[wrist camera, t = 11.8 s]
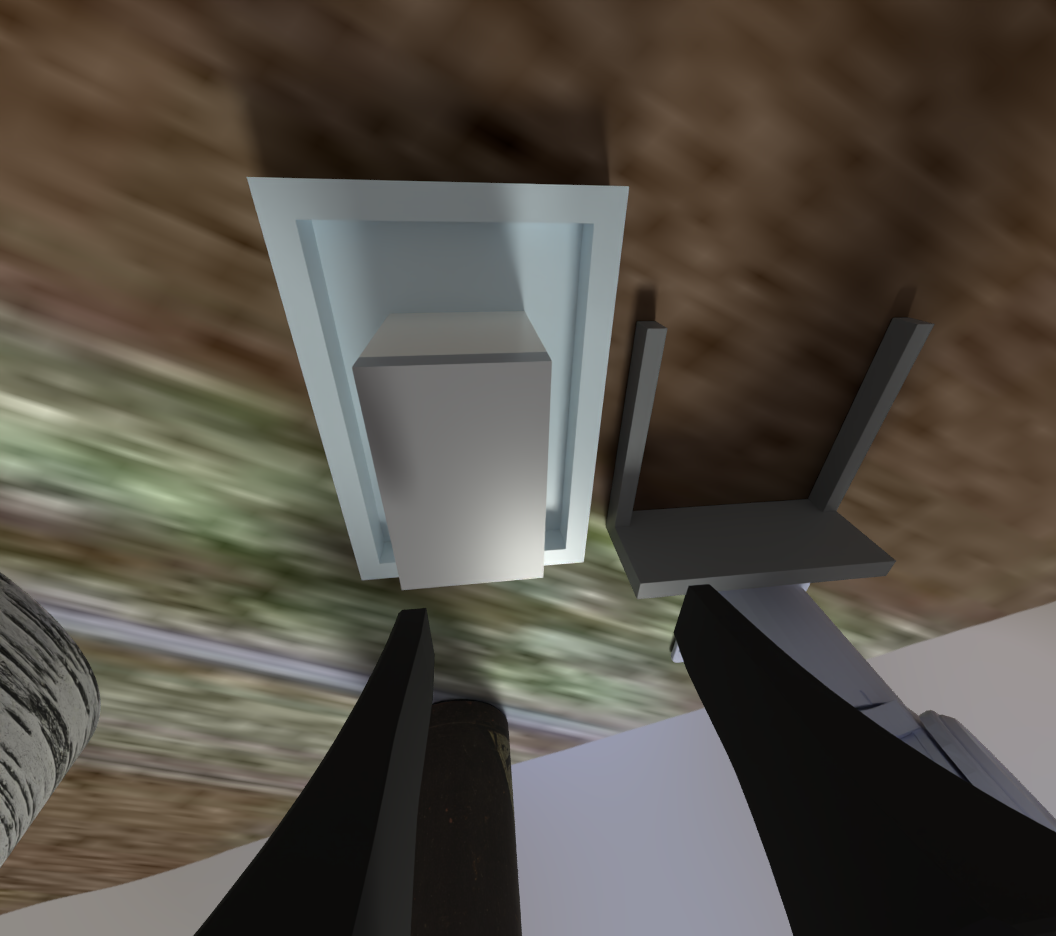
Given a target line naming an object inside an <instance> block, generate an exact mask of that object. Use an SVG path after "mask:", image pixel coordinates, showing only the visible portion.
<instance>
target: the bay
mask: <svg viewBox="0 0 1056 936" xmlns="http://www.w3.org/2000/svg"><path fill="white" fill-rule="evenodd" d="M933 326H934V324H932V323H928V322H924V321H921V320H917V319H913V318H893V319H892V321H891V323H890V325H889V327H888V329H887V331H886V334H885V336H884V338H883V340H882V342H881V344H880V346H879V349H878V351H877V353H876V355H875V357H874V359H873V361H872V363H871V366H870V368H869V370H868V372H867V374H866V376H865V378H864V380H863V383H862V385H861V387H860V389H859V391H858V393H857V395H856V397H855V400H854V402H853V404H852V406H851V408H850V410H849V412H848V415H847V417H846V419H845V421H844V423H843V425H842V427H841V429H840V432H839V434H838V436H837V438H836V440H835V442H834V444H833V446H832V449H831V451H830V453H829V455H828V457H827V459H826V461H825V464H824V466H823V468H822V470H821V472H820V474H819V476H818V478H817V481H816V483H815V485H814V487H813V489H812V491H811V493H810V495H809V498H808V499H801V500H787V501H772V502H758V503H743V504H728V505H714V506H699V507H684V508H670V509H655V510H641V511H633V506H634V500H635V495H636V490H637V485H638V479H639V474H640V469H641V464H642V459H643V453H644V448H645V443H646V438H647V432H648V427H649V422H650V417H651V412H652V406H653V401H654V396H655V391H656V385H657V380H658V375H659V370H660V364H661V359H662V354H663V349H664V344H665V338H666V333H667V328H666V327H664V326H663V325H661V324H659V323H658V322H656V321H637V324H636V331H635V338H634V344H633V351H632V357H631V364H630V371H629V377H628V384H627V390H626V397H625V404H624V410H623V417H622V423H621V430H620V437H619V443H618V450H617V456H616V463H615V470H614V476H613V483H612V489H611V496H610V503H609V509H608V516H607V522H606V529H607V531H608V533H609V535H610V538H611V540H612V542H613V545H614V547H615V549H616V552H617V554H618V556H619V559H620V561H621V563H622V565H623V568H624V570H625V572H626V575H627V577H628V579H629V582H630V584H631V586H632V589H633V591H634V593H635V596H636V598H637V599H643V598H654V597H665V596H675V595H686V592H687V589H688V586H691V585H703V584H710V585H711V586H712V587H713V588H714V589H715V590H717V591H729V590H739V589H750V588H761V587H771V586H782V585H793V584H803V583H814V582H825V581H835V580H846V579H857V578H867V577H878V576H886V575H887V573H888V572H889V571H890V569H891V568H892V566H893V565H894V563H895V562H896V560H894V559H893V558H892V557H891V556H890V555H888V554H887V553H886V552H885V551H884V550H882V549H881V548H880V547H879V546H878V545H876V544H875V543H874V542H873V541H871V540H870V539H869V538H868V537H867V536H865V535H864V534H863V533H862V532H861V531H859V530H858V529H857V528H856V527H855V526H853V525H852V524H851V523H850V522H849V521H847V520H846V519H845V518H844V517H843V516H841V515H840V514H839V513H838V512H837V511H836V510H837V509H838V507H839V505H840V503H841V501H842V499H843V497H844V495H845V493H846V491H847V490H848V488H849V486H850V484H851V482H852V480H853V478H854V476H855V474H856V472H857V470H858V469H859V467H860V465H861V463H862V461H863V459H864V457H865V455H866V453H867V451H868V450H869V448H870V446H871V444H872V442H873V440H874V438H875V436H876V434H877V432H878V431H879V429H880V427H881V425H882V423H883V421H884V419H885V417H886V415H887V413H888V411H889V410H890V408H891V406H892V404H893V402H894V400H895V398H896V396H897V394H898V392H899V391H900V389H901V387H902V385H903V383H904V381H905V379H906V377H907V375H908V373H909V372H910V370H911V368H912V366H913V364H914V362H915V360H916V358H917V356H918V354H919V352H920V351H921V349H922V347H923V345H924V343H925V341H926V339H927V337H928V335H929V333H930V332H931V330H932V328H933Z"/></svg>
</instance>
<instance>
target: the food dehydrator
mask: <svg viewBox="0 0 1056 936" xmlns="http://www.w3.org/2000/svg"><path fill="white" fill-rule="evenodd" d="M100 709H101V702H100V693H99V688H98V684H97V681H96V678H95V676H94V673H93V671H92V669H91V667H90V665H89V663H88V661H87V659H86V658H85V656H84V655H83V653H82V651H81V650H80V649H79V647H78V646H77V644H76V643H75V642H74V640H73V639H72V638H71V637H70V635H69V634H68V633H67V632H66V631H65V630H64V628H63V627H62V626H61V625H60V624H59V623H58V622H57V621H56V620H55V619H54V618H53V617H52V616H51V615H50V614H49V613H48V612H47V611H46V610H45V609H44V608H43V607H42V606H41V605H40V604H39V603H38V602H36V601H35V600H34V599H33V598H32V597H31V596H30V595H28V594H27V593H26V592H25V591H23V590H22V589H21V588H20V587H19V586H17V585H16V584H15V583H14V582H12V581H11V580H10V579H8V578H7V577H6V576H4V575H3V574H2V573H0V867H1V866H2V864H3V863H4V862H5V860H6V859H7V857H8V856H9V855H10V853H11V852H12V850H13V849H14V847H15V846H16V845H17V843H18V842H19V840H20V839H21V837H22V836H23V835H24V833H25V832H26V830H27V829H28V827H29V826H30V825H31V823H32V822H33V820H34V819H35V817H36V816H37V815H38V813H39V812H40V810H41V809H42V807H43V806H44V805H45V803H46V802H47V800H48V799H49V797H50V796H51V795H52V793H53V792H54V790H55V789H56V787H57V786H58V785H59V783H60V782H61V780H62V779H63V777H64V776H65V775H66V773H67V772H68V770H69V769H70V768H71V766H72V765H73V763H74V762H75V760H76V759H77V758H78V756H79V755H80V753H81V752H82V750H83V749H84V747H85V746H86V745H87V743H88V742H89V740H90V739H91V737H92V735H93V734H94V732H95V730H96V727H97V724H98V721H99V717H100Z"/></svg>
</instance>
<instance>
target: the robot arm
mask: <svg viewBox="0 0 1056 936" xmlns="http://www.w3.org/2000/svg"><path fill="white" fill-rule="evenodd" d="M809 585H810V583H803V584H793V585H782V586H771V587H761V588H750V589H739V590H729V591H717V590H715V589H714V588H713V587H712V586H711V585H710V584H703V585H691V586H688V589H687V592H686V595H685V598H684V602H683V605H682V608H681V611H680V614H679V617H678V620H677V624H676V627H675V630H674V635H675V638H676V641H675V644H674V647H673V650H672V653H671V658H672V660H673V662H684V664H685V667H686V669H687V672H688V674H689V676H690V678H691V680H692V682H693V684H694V686H695V688H696V691H697V693H698V695H699V697H700V699H701V701H702V703H703V705H704V707H705V709H706V711H707V713H708V715H709V717H710V719H711V721H712V724H713V725H714V728H715V730H716V732H717V734H718V736H719V738H720V740H721V742H722V744H723V746H724V748H725V750H726V752H727V754H728V756H729V759H730V761H731V763H732V766H733V768H734V770H735V772H736V775H737V777H738V780H739V782H740V785H741V788H742V790H743V793H744V795H745V798H746V800H747V803H748V806H749V808H750V811H751V814H752V816H753V818H754V821H755V824H756V827H757V830H758V833H759V835H760V838H761V841H762V844H763V846H764V849H765V852H766V855H767V857H768V860H769V863H770V866H771V869H772V872H773V875H774V878H775V881H776V884H777V887H778V890H779V893H780V896H781V899H782V902H783V905H784V908H785V911H786V914H787V917H788V920H789V923H790V926H791V930H792V933H793V936H1056V819H1055V818H1054V817H1053V816H1052V815H1051V814H1050V813H1049V812H1048V811H1047V810H1046V808H1045V807H1043V806H1042V804H1041V803H1040V802H1039V801H1038V800H1037V799H1036V798H1035V797H1034V796H1033V795H1032V794H1031V793H1030V792H1029V791H1028V790H1027V789H1026V788H1025V787H1024V786H1023V785H1022V784H1021V783H1020V781H1018V780H1017V778H1016V777H1015V776H1014V775H1013V774H1012V773H1011V772H1010V771H1009V770H1008V769H1007V768H1006V767H1005V766H1004V765H1003V764H1002V763H1001V762H1000V761H999V760H998V759H997V758H996V757H995V756H994V755H993V754H992V753H991V752H990V751H989V750H988V749H987V748H986V747H985V746H984V745H983V744H982V743H981V742H980V741H979V740H978V739H977V738H976V737H975V736H974V735H973V734H972V733H971V732H970V731H969V730H968V729H966V728H965V727H964V726H963V725H962V724H961V723H960V722H959V721H957V720H956V719H954V718H951V717H948V716H945V715H939V714H937V713H936V712H934V711H932V710H930V711H926V712H924V713H922V714H921V715H919V716H918V715H917V714H916V713H914V712H913V711H912V710H910V709H909V708H907V707H906V706H905V704H903V702H902V701H901V700H900V699H899V698H898V696H897V695H896V694H895V693H894V692H893V691H892V690H891V688H890V687H889V686H888V685H887V684H886V683H885V682H884V680H883V679H882V678H881V677H880V676H879V675H878V674H877V672H876V671H875V670H874V669H873V668H872V667H871V666H870V664H869V663H868V662H867V661H866V660H865V659H864V658H863V656H862V655H861V654H860V653H859V652H858V651H857V650H856V648H855V647H854V646H853V645H852V644H851V643H850V642H849V640H848V639H847V638H846V637H845V636H844V635H843V634H842V632H841V631H840V630H839V629H838V628H837V627H836V626H835V624H834V623H833V622H832V621H831V620H830V619H829V618H828V616H827V615H826V614H825V613H824V612H823V611H822V610H821V609H820V607H819V606H818V605H817V604H816V603H815V602H814V601H813V599H812V598H811V597H810V596H809V595H808V594H807V593H806V590H807V589H808V587H809ZM433 682H434V650H433V644H432V638H431V633H430V627H429V621H428V615H427V609H426V608H421V609H409V610H402V611H401V612H400V613H399V614H398V616H397V619H396V622H395V624H394V627H393V629H392V632H391V634H390V636H389V639H388V641H387V643H386V645H385V648H384V650H383V652H382V654H381V656H380V658H379V660H378V662H377V664H376V666H375V668H374V670H373V672H372V674H371V676H370V678H369V680H368V682H367V684H366V686H365V688H364V690H363V692H362V694H361V696H360V697H359V699H358V701H357V703H356V705H355V706H354V708H353V710H352V712H351V713H350V715H349V717H348V719H347V720H346V722H345V724H344V725H343V727H342V729H341V731H340V732H339V734H338V736H337V738H336V739H335V741H334V743H333V744H332V746H331V747H330V749H329V751H328V752H327V754H326V755H325V757H324V759H323V760H322V762H321V763H320V765H319V767H318V768H317V770H316V771H315V773H314V774H313V776H312V777H311V779H310V780H309V782H308V783H307V785H306V786H305V788H304V789H303V791H302V792H301V794H300V795H299V797H298V798H297V799H296V801H295V802H294V804H293V805H292V807H291V808H290V809H289V811H288V812H287V814H286V815H285V817H284V818H283V819H282V821H281V822H280V824H279V825H278V827H277V828H276V829H275V831H274V832H273V834H272V835H271V836H270V838H269V839H268V841H267V842H266V843H265V845H264V846H263V847H262V849H261V850H260V851H259V853H258V854H257V855H256V857H255V858H254V859H253V860H252V862H251V863H250V864H249V866H248V867H247V868H246V869H245V871H244V872H243V873H242V875H241V876H240V877H239V879H238V880H237V881H236V882H235V884H234V885H233V886H232V888H231V889H230V890H229V891H228V893H227V894H226V895H225V897H224V898H223V899H222V901H221V902H220V903H219V904H218V906H217V907H216V908H215V910H214V911H213V912H212V913H211V915H210V916H209V917H208V918H207V920H206V921H205V922H204V923H203V925H202V926H201V927H200V928H199V930H198V931H197V932H196V933H195V934H194V936H411V916H412V897H413V878H414V860H415V844H416V827H417V814H418V804H419V795H420V787H421V780H422V773H423V766H424V758H425V751H426V744H427V737H428V729H429V722H430V715H431V707H432V700H433Z"/></svg>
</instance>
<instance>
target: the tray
mask: <svg viewBox="0 0 1056 936" xmlns="http://www.w3.org/2000/svg"><path fill="white" fill-rule="evenodd" d="M247 180H248V183H249V187H250V190H251V194H252V197H253V201H254V204H255V208H256V211H257V215H258V218H259V222H260V225H261V229H262V232H263V236H264V239H265V243H266V246H267V250H268V253H269V257H270V260H271V264H272V267H273V271H274V274H275V278H276V281H277V285H278V288H279V292H280V295H281V299H282V302H283V306H284V309H285V313H286V316H287V320H288V323H289V327H290V330H291V334H292V337H293V341H294V344H295V348H296V351H297V355H298V358H299V362H300V365H301V369H302V372H303V376H304V379H305V383H306V387H307V390H308V394H309V397H310V401H311V404H312V408H313V411H314V415H315V418H316V422H317V425H318V429H319V432H320V436H321V439H322V443H323V446H324V450H325V453H326V457H327V460H328V464H329V467H330V471H331V474H332V478H333V481H334V485H335V488H336V492H337V495H338V499H339V502H340V506H341V509H342V513H343V516H344V520H345V523H346V527H347V530H348V534H349V537H350V541H351V544H352V548H353V551H354V555H355V558H356V562H357V565H358V569H359V572H360V576H361V579H362V580H371V579H383V578H395V577H399V575H398V571H397V566H396V562H395V557H394V553H393V548H392V544H391V539H390V535H389V531H388V526H387V522H386V517H385V513H384V508H383V504H382V500H381V495H380V491H379V486H378V482H377V477H376V473H375V468H374V464H373V460H372V455H371V451H370V446H369V442H368V437H367V433H366V429H365V424H364V420H363V415H362V411H361V406H360V402H359V397H358V393H357V389H356V384H355V380H354V375H353V371H352V366H353V365H354V363H355V362H356V361H357V359H358V358H359V356H360V355H361V353H362V352H363V351H364V349H365V348H366V346H367V345H368V343H369V342H370V341H371V339H372V338H373V336H374V335H375V333H376V332H377V330H378V329H379V328H380V326H381V325H382V323H383V322H384V320H385V319H386V318H387V316H388V315H389V313H441V312H496V311H525V313H526V314H527V316H528V318H529V320H530V322H531V324H532V325H533V327H534V329H535V331H536V333H537V335H538V336H539V338H540V340H541V342H542V344H543V346H544V347H545V349H546V351H547V353H548V355H549V357H550V358H551V360H552V373H551V397H550V422H549V446H548V471H547V496H546V520H545V545H544V565H554V564H566V563H578V562H584V555H585V546H586V538H587V530H588V522H589V513H590V505H591V497H592V489H593V480H594V472H595V464H596V456H597V447H598V439H599V431H600V423H601V414H602V406H603V398H604V390H605V381H606V373H607V365H608V357H609V348H610V340H611V332H612V324H613V315H614V307H615V299H616V291H617V282H618V274H619V266H620V258H621V249H622V241H623V233H624V225H625V216H626V208H627V200H628V192H629V186H594V185H553V184H512V183H471V182H430V181H389V180H348V179H307V178H266V177H247Z"/></svg>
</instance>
